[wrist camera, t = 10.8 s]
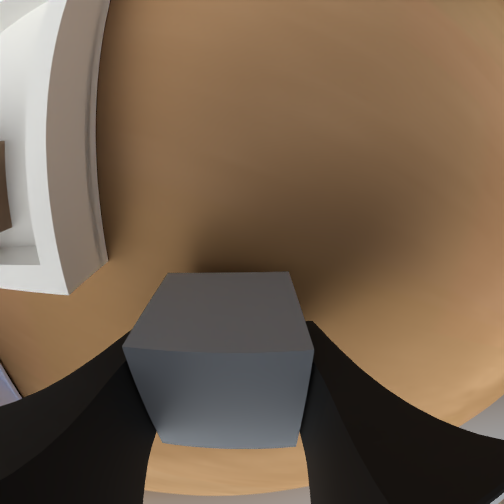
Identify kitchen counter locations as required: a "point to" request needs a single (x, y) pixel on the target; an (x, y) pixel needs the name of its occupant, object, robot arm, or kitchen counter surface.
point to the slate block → (223, 360)
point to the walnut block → (4, 193)
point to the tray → (50, 143)
